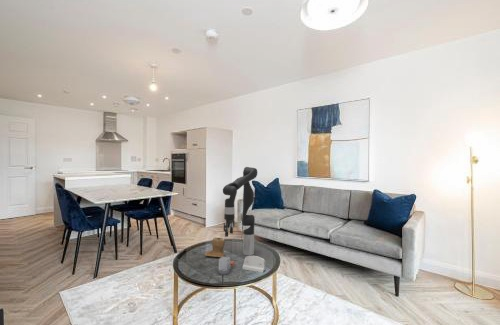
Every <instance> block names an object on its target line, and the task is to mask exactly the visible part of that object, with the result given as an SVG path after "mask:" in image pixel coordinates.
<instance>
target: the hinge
mask: <svg viewBox="0 0 500 325" xmlns="http://www.w3.org/2000/svg"><path fill="white" fill-rule="evenodd" d="M242 270H247V271H251V272H257V271H258V273H264V271H266V260H265V258H262V257H261V256H257V255H246V256H245V258H244V262H243V264H242Z"/></svg>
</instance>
